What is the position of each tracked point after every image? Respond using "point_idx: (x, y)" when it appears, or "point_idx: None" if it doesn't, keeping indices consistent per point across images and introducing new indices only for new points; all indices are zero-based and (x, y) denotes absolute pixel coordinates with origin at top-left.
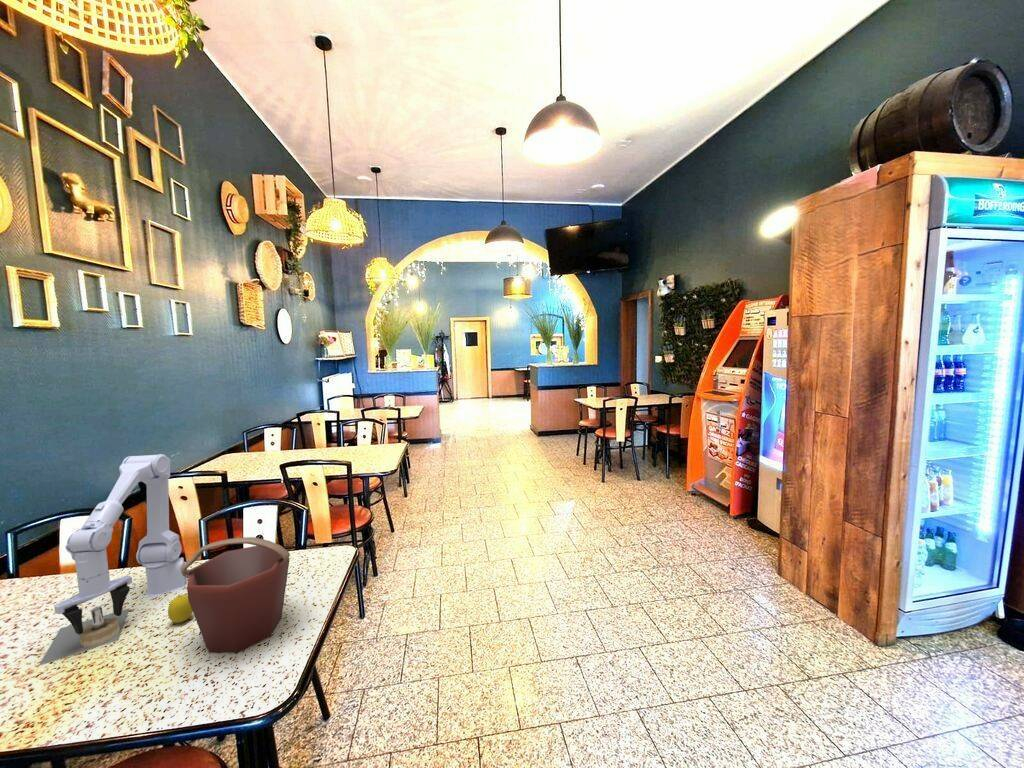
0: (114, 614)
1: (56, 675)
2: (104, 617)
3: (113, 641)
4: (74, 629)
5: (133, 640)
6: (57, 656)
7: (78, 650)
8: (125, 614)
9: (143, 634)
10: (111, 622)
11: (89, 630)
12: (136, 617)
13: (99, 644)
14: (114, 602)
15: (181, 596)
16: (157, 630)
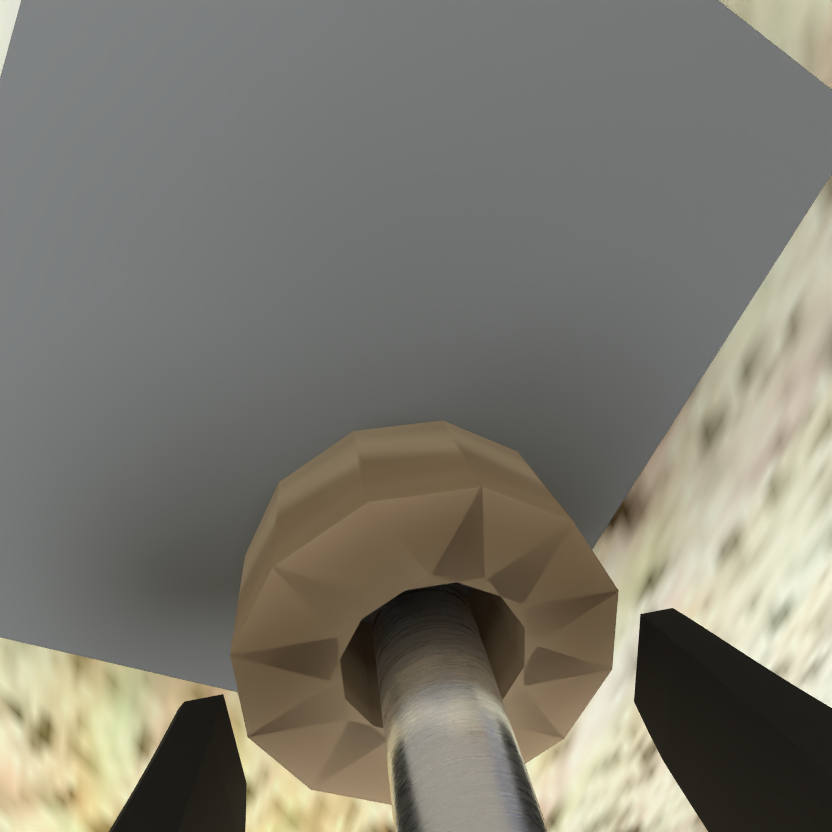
0: (642, 622)
1: (16, 824)
2: (632, 41)
3: None
4: (158, 751)
5: None
6: (32, 578)
7: (204, 643)
8: (752, 267)
9: (598, 759)
10: (541, 681)
11: (332, 665)
12: (748, 406)
13: None
14: (795, 819)
15: None
16: (665, 783)
